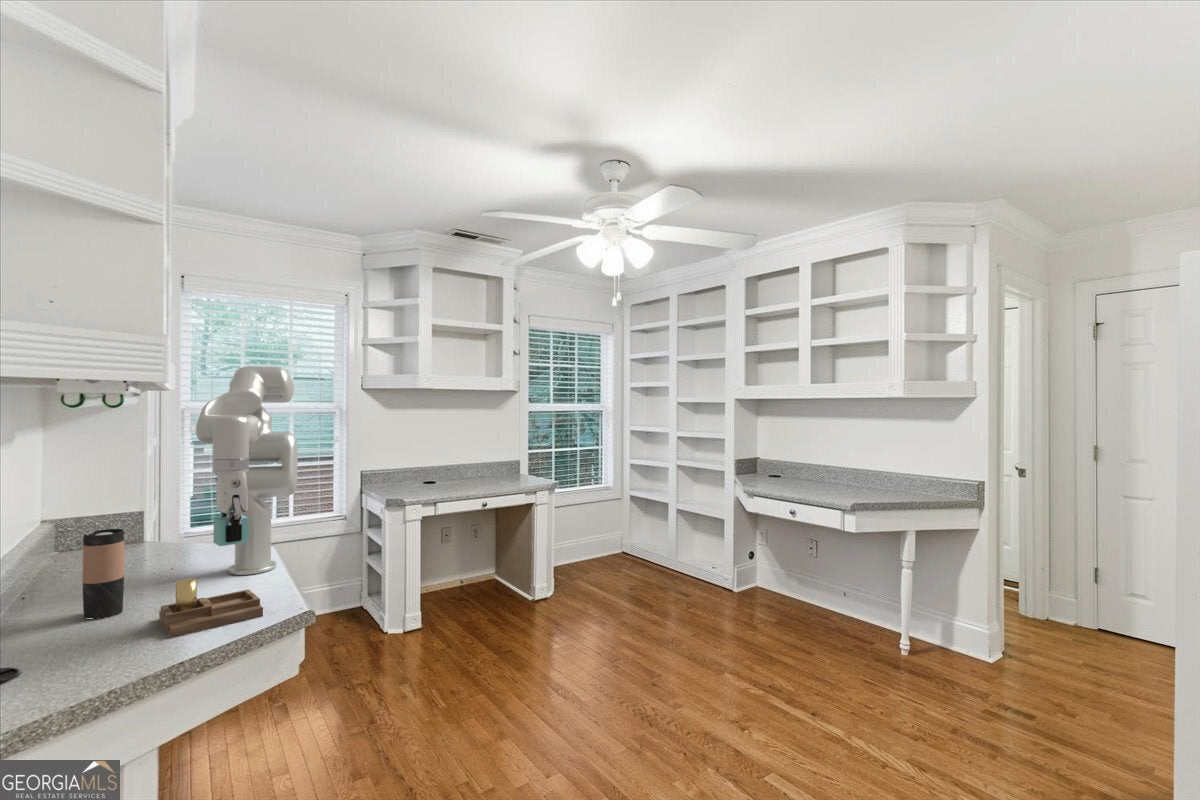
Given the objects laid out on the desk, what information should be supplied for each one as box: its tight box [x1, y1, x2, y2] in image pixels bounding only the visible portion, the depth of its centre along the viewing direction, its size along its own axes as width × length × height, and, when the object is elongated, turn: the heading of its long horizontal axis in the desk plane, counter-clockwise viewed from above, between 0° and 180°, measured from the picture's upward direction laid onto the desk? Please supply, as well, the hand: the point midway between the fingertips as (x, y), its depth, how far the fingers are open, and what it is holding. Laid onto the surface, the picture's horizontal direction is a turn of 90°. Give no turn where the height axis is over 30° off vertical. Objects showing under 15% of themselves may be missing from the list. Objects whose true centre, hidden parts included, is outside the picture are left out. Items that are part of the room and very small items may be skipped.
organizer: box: [158, 589, 264, 638], centre depth 136 cm, size 15×18×4 cm
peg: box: [175, 577, 198, 612], centre depth 133 cm, size 4×4×8 cm
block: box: [213, 515, 249, 547], centre depth 140 cm, size 6×6×6 cm
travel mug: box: [82, 528, 125, 620], centre depth 138 cm, size 8×8×20 cm
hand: (230, 538), depth 139 cm, fingers closed on block, 6 cm apart
